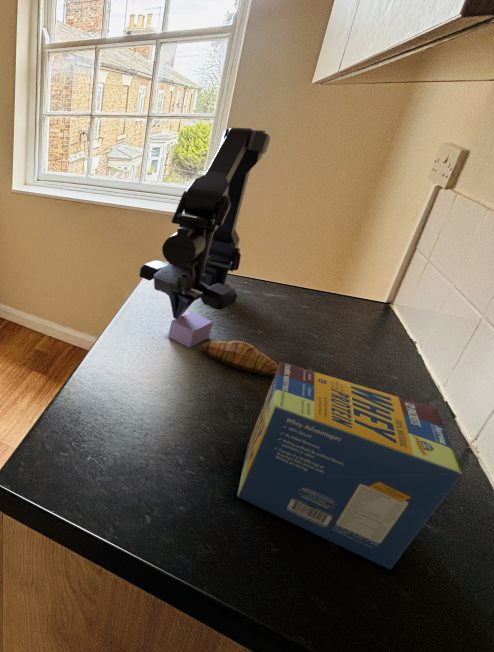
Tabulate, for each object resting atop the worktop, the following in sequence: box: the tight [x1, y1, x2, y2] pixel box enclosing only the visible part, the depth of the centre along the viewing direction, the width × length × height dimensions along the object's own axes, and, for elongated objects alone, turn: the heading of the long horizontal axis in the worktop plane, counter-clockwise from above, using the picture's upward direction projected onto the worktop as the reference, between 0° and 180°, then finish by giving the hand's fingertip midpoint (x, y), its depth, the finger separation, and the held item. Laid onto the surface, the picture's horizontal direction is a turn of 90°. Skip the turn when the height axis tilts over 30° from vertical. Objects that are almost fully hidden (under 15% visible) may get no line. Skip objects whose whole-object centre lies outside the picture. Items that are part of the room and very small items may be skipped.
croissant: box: [200, 340, 279, 378], centre depth 76 cm, size 14×7×5 cm, turn 52°
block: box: [167, 311, 214, 349], centre depth 84 cm, size 7×5×4 cm
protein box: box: [236, 361, 463, 570], centre depth 48 cm, size 10×15×16 cm
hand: (176, 318), depth 87 cm, fingers closed
